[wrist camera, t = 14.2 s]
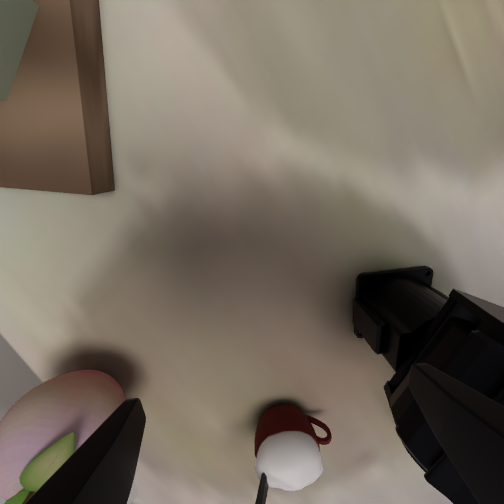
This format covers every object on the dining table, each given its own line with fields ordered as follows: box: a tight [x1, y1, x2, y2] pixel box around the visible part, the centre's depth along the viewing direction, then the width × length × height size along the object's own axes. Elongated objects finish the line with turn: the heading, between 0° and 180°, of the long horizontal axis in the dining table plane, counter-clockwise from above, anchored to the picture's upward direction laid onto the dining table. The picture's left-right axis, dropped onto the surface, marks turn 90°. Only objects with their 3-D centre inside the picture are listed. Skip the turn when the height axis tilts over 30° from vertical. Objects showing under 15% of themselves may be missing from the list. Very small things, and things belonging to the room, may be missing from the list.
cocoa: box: [255, 405, 332, 504], centre depth 21 cm, size 10×6×12 cm, turn 78°
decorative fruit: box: [0, 370, 126, 504], centre depth 19 cm, size 9×8×10 cm
